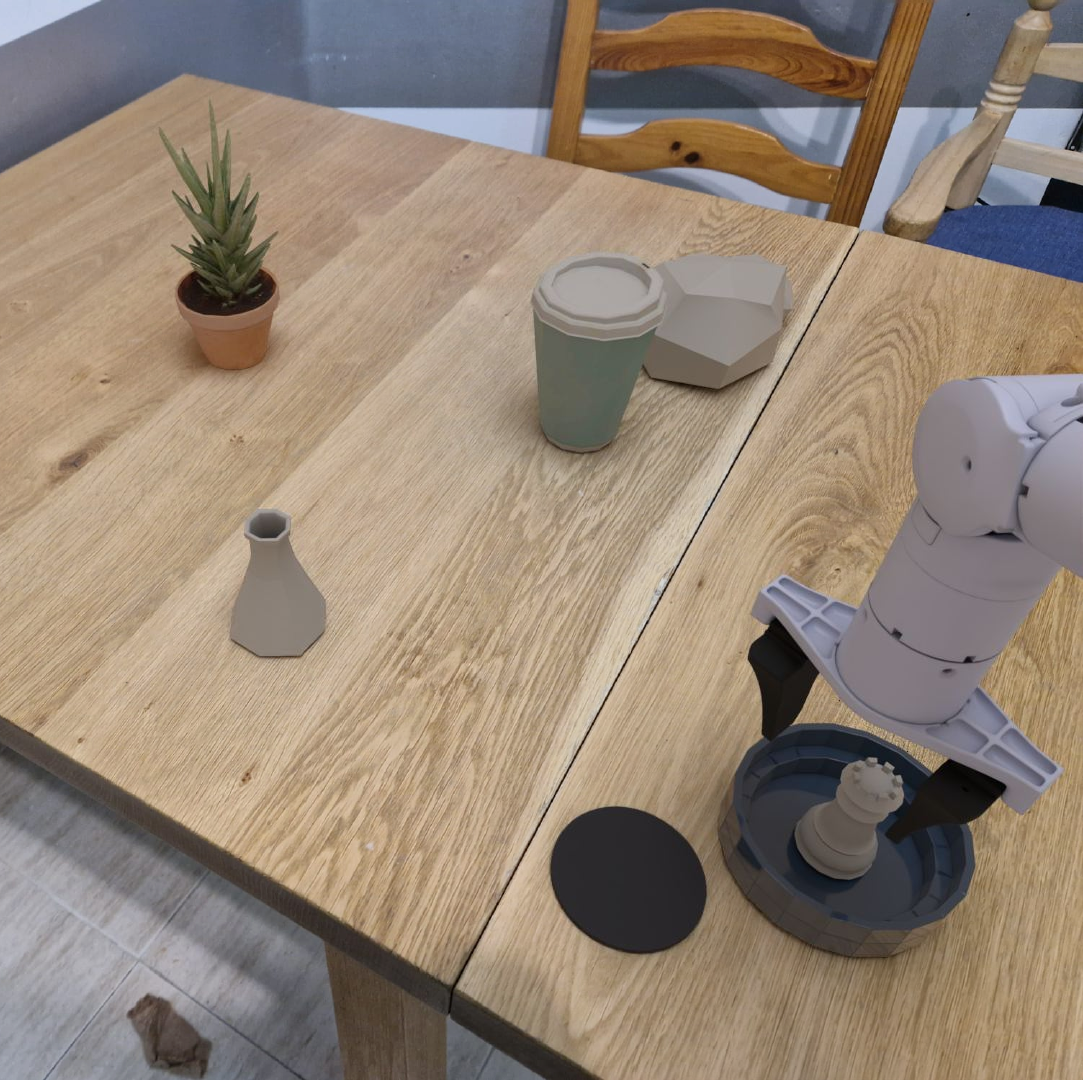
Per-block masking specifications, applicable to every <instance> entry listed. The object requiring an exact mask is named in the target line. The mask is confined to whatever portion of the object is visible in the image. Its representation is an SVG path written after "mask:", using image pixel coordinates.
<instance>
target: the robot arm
mask: <svg viewBox="0 0 1083 1080" xmlns="http://www.w3.org/2000/svg"><path fill="white" fill-rule="evenodd" d="M912 439H913V440H912V449H911V462H912V463H911V468H912V475H913V481H914V485H915V489H916V493H917V494H916V496H915V497H914V500H913V501H912V503H911V505H910V507H909V509H908V511H907V513H906V514H905V517H904V518H903V521H902V523H901V524H900V527H899V528H898V531H897V533H896V535H895V536H894V538H893V539H892V542H891V544H890V546H889V548H888V550H887V552H886V554H885V555H884V557H883V559H882V562H881V563H880V565H879V567H878V569H877V571H876V573H875V574H874V576H873V579H872V581H871V583H870V584H869V586H868V588H867V590H866V592H865V594H864V595H863V598H862V599H861V602H860V604H859V605H858V607H857V606H854V605H852V604H849V603H847V602H844V601H842V600H839V599H836V598H834V597H831V596H830V595H826V594H824V593H821V592H819V591H817V590H815V589H812V588H810V587H808V586H806V585H804V584H802V583H800V582H798V581H797V580H795V579H794V578H792V577H790V576H789V575H787V574H786V573H782V574H780V575H779V576H777V577H776V578H775V579H773V580H771V581H770V582H769V583H768V584H766V585H765V586H764V587H762V588H761V589H759V591H758V594H757V596H756V598H755V601H754V603H753V606H752V608H751V611H750V614H749V615H750V616H752V618H754V619H756V620H757V621H758V622H759V623H761V624H763V625H765V626H768V627H767V628H766V629H765V630H764V631H763V634H762V635H760V636H758V637H757V638H756V639H755V640H754V641H752V643H751V644H750V647H749V649H748V653H747V662H748V663H749V664H750V666H751V669H752V670H753V672H754V675H755V678H756V680H757V684H758V687H759V692H760V699H761V736H763V737H765V738H766V739H768V740H769V741H770V742H771V741H772V740H773V739H775V738H776V737H777V736H778V735H779V734H781V733H782V732H783V731H784V730H786V729H787V728H788V727H789V726H792V725H794V723H795V721H796V720H797V718H798V717H799V715H800V714H801V712H802V710H803V708H804V706H805V704H806V702H807V699H808V697H809V695H810V693H811V690H812V689H813V686H814V684H815V681H816V680H817V678H818V677H819V674H820V675H821V676H822V677H823V678H824V680H825V682H827V684H828V685H829V686H830V688H831V689H832V691H834V693H835V694H836V696H837V697H838V699H840V700H841V701H842V703H843V704H844V705H845V706H846V707H847V708H848V709H849V710H850V711H852V712H853V714H856V716H858V717H859V718H861V719H862V720H864V721H865V722H867V723H869V724H871V725H873V726H875V727H876V728H879V729H881V730H883V731H885V732H888V733H890V734H893V735H895V736H897V737H899V738H901V739H903V740H906V741H907V742H908V741H909V742H911V743H912V744H915V745H918V746H920V747H922V748H924V749H927V750H929V751H931V752H934V753H936V754H938V755H939V756H940V755H941V756H943V757H944V758H945V757H946V758H947V760H945V761H944V762H943V763H942V764H941V765H940V766H939V767H938V768H937V769H936V770H935V771H934V772H932V773H933V774H932V775H930V776H929V777H928V778H927V779H926V780H925V781H924V782H923V783H922V784H921V785H920V787H919V788H918V791H917V793H916V795H915V797H914V799H913V801H912V802H911V804H910V806H909V807H908V809H907V810H906V812H905V813H904V814H903V815H902V816H901V817H900V818H899V819H898V820H897V821H896V822H895V823H894V824H893V825H892V826H891V827H890V828H889V829H888V830H887V832H886V834H885V836H886V837H887V838H889V839H890V840H891V841H892V842H893V843H895V844H899V843H900V842H901V841H902V840H903V839H904V838H906V837H907V836H909V835H911V834H913V833H915V832H917V831H920V830H922V829H925V828H928V827H932V826H936V825H942V824H960V825H963V824H966V823H967V824H968V823H971V822H973V821H975V820H977V819H978V818H980V817H981V816H983V815H984V813H986V812H987V811H988V809H990V807H991V806H992V805H993V804H995V802H997V800H998V799H999V798H1000V800H1001V802H1003V803H1004V804H1005V805H1006V806H1007V807H1009V808H1010V809H1012V811H1014V812H1015V813H1017V814H1018V815H1020V816H1023V815H1025V813H1027V811H1029V810H1030V809H1031V807H1032V806H1034V804H1035V803H1036V802H1037V801H1038V800H1039V799H1040V798H1041V797H1042V796H1043V795H1044V794H1045V793H1046V792H1047V791H1048V789H1049V788H1050V787H1052V785H1053V784H1054V783H1055V782H1056V781H1057V780H1058V778H1060V776H1061V775H1062V774H1063V773H1064V772H1065V768H1064V767H1063V766H1061V765H1060V764H1058V763H1057V762H1055V761H1054V759H1052V758H1050V757H1049V756H1048V755H1047V754H1045V753H1044V752H1043V751H1042V750H1041V749H1039V747H1037V746H1036V744H1035V743H1033V741H1031V740H1030V739H1029V738H1028V736H1027V735H1026V734H1025V733H1024V732H1023V731H1022V730H1021V729H1020V728H1019V727H1018V725H1017V724H1016V723H1015V722H1014V721H1013V720H1012V719H1011V718H1010V717H1009V715H1008V714H1006V712H1005V711H1004V710H1003V709H1002V708H1001V706H1000V705H999V704H998V703H997V702H996V701H995V700H994V699H993V698H992V697H991V695H990V694H988V692H987V691H986V690H985V689H984V688H983V687H982V686H981V685H980V684H981V682H982V681H983V679H984V678H985V676H986V675H987V673H988V672H989V671H990V669H991V668H992V666H993V665H994V664H995V662H996V661H997V660H998V658H999V656H1000V655H1001V654H1002V652H1003V651H1004V650H1005V648H1006V647H1007V645H1008V644H1009V642H1010V641H1011V639H1012V638H1013V637H1014V635H1015V634H1016V632H1017V631H1018V630H1019V628H1020V627H1021V626H1022V625H1023V623H1024V621H1025V620H1026V618H1027V617H1028V616H1029V614H1030V613H1031V612H1032V610H1033V609H1034V607H1035V606H1036V604H1037V603H1038V602H1039V600H1040V599H1041V597H1042V596H1043V595H1044V593H1045V592H1046V591H1047V589H1048V588H1049V586H1050V585H1051V583H1052V582H1053V581H1054V579H1055V578H1056V577H1057V575H1058V574H1059V572H1060V571H1061V570H1062V568H1064V569H1066V570H1067V571H1069V572H1071V573H1072V574H1074V575H1075V576H1077V577H1078V578H1080V579H1082V580H1083V373H1057V374H1054V373H1053V374H1021V375H1020V374H1018V375H980V376H971V377H968V378H966V379H963V378H956V379H951V380H948V381H945V382H944V383H943V384H941V385H939V386H938V387H937V388H936V389H935V390H933V391H932V393H931V394H930V395H929V397H928V398H927V399H926V401H925V403H924V404H923V407H922V409H921V411H920V413H919V416H918V419H917V421H916V424H915V429H914V433H913V438H912Z"/></svg>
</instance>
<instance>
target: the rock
mask: <svg viewBox="0 0 1083 1080" xmlns="http://www.w3.org/2000/svg"><path fill="white" fill-rule="evenodd" d="M653 267H654V268H655V270H656V271H657V272H658V274H659V275H660V276H661V277H662V279H663V280H664V283H663V288H662V289H663V290H664V291H665V293H666V294H667V301H666V304H667V308H666V311H665V315H664V319H663V323H662V324H660V325H658V326H657V329H656V331H655V334H654V336H653V339H652V342H651V344H650V347H649V350H648V352H647V355H646V357H645V360H644V363H643V365H642V366H643V367H644V369H645V370H646V372H647V373H648V375H649V377H650V378H653V379H657V380H664V381H670V382H675V383H682V384H688V385H694V386H699V387H705V388H711V389H717V390H719V389H722V388H724V387H725V386H728V385H729V384H732V383H733V382H735V381H737V380H739V379H742V378H744V377H745V376H748V375H749V374H751V373H753V372H755V371H757V370H759V369H761V368H763V367H765V366H767V365H769V364H772V363H773V362H774V359H775V355H776V351H777V348H778V344H779V341H780V337H781V333H782V330H783V321H784V319H786V318H787V316H788V315H789V314H790V313H791V312H792V311H793V310H794V301H793V300H794V299H793V298H794V297H793V283H792V281H791V280H790V279H789V278H788V277H787V269H788V266H787V265H784V264H777V263H774V262H773V261H771V260H769V259H768V258H766V257H764V256H763V255H760V253H753V254H741V255H732V256H724V255H717V254H710V253H703V252H697V253H693V254H689V255H685V256H681V257H678V258H677V257H676V258H674V259H669V260H666V261H663V262H661V263H659V264H657V265H655V266H653Z"/></svg>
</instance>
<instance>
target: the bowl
mask: <svg viewBox="0 0 1083 1080" xmlns="http://www.w3.org/2000/svg"><path fill="white" fill-rule="evenodd" d="M868 757H870V758H877V764H879V765H882V766H884V765H885V763H886V762H888V763H889V764H890V765H892V766H893V767H895V768H894V770H893V771H892V773H893V774H894V776H898V775H901V778H902V781H903V784H902V789H903V793H904V797H903V803H902V805H901V806H900V807H899V808H898V809H897V810H896V811H893V812H889V813H888V816H887V817H886V818H885V819H884V820H883V821H881V822H878V823H877V826H876V829H875V832H876V838H877V841H878V847H877V852H876V858H875V860H874V861H873V862H872V865H871V867H870V868H869V869H868V871H867V872H866V873H865V874H864V875H863V876H860V877H857V878H854V879H851V880H848V879H837V878H833V877H830V876H828V875H826V874H823V873H821V872H819V871H818V870H816V869H815V868H814V867H813V866H811V865H810V864H809V863H808V862H807V861H806V860H805V859H804V857H803V856H802V854H801V853H800V851H799V850H798V848H797V844H796V839H795V835H794V834H795V830H796V826H797V823H798V822H799V821H800V820H801V819H802V818H803V815H804V814H805V813H806V812H807V811H808V810H809V809H810V808H812V807H814V806H816V805H819V804H823V803H828V802H831V801H833V800H834V799H835V798H836V792H837V787H838V786H839V785H840V784H841V780H840V779H841V774H842V770H843V769H844V768H845V767H846V766H847V765H848V764H850V763H853V762H857V761H859V760H861V761H866V759H867V758H868ZM933 773H934V772H933V771H932V770H930V769H929V768H928V766H926V765H924V764H923V763H922V762H920V761H919V760H918V759H916V757H914V756H913V755H912V754H910V753H909V752H908V751H906V750H905V749H904V748H902V747H901V746H899V745H896V744H895V743H892V742H890V741H888V740H886V739H884V738H882V737H881V736H878V735H875V734H874V733H872V732H869V731H867V730H862V729H858V728H854V727H850V726H847V725H843V724H838V723H833V722H799V723H795V724H792V725H790V726H789V727H788V728H787V729H786V730H784V731H783V732H782V733H781V734H779V735H778V736H777V737H776V738H775V739H773V740H772V741H771V742H770V741H769V740H768V739H766V738H765V737H764V736H763V737H762V738H761V739H759V740H758V741H756V742H755V743H754V744H752V745H751V746H750V747H749V748H748V749H747V750H746V752H745V754H744V756H743V758H742V759H741V761H740V763H739V765H738V767H737V768H736V770H735V772H734V774H733V776H732V778H731V781H730V783H729V785H728V787H727V790H726V791H725V794H724V795H723V798H722V800H721V802H720V809H719V820H718V836H719V840H720V843H721V848H722V851H723V855H724V858H725V863H726V864H727V865H726V866H727V867H728V869H729V871H730V872H731V874H732V875H733V877H734V878H735V880H736V882H737V884H738V885H739V887H740V889H741V890H742V891H743V894H744V895H745V896H746V897H747V898H748V900H750V901H751V902H752V903H753V904H754V906H756V907H757V908H758V909H759V910H760V911H761V912H762V913H763V914H764V915H765V916H766V917H767V918H769V920H770V921H771V922H773V924H776V926H777V927H779V928H781V929H782V930H785V931H787V932H788V933H790V934H792V935H793V936H794V937H796V938H798V939H800V940H802V941H803V942H804V943H806V944H809V945H811V946H813V947H816V948H819V949H823V950H826V951H828V952H829V951H830V952H833V953H836V954H840V955H843V956H847V957H851V958H860V957H861V958H871V957H872V958H879V957H880V958H881V957H882V958H885V957H886V958H887V957H891V956H894V955H896V954H899V953H901V952H904V951H908V950H910V949H913V948H915V947H918V946H920V945H921V944H923V942H925V940H926V939H927V938H928V937H929V936H930V935H931V934H932V933H933V932H934V931H935V930H936V929H937V928H938V927H939V926H940V925H941V924H942V923H943V922H944V921H945V920H946V918H948V917H949V916H950V914H951V913H952V912H954V910H956V908H957V907H958V906H959V905H960V904H961V902H963V901H964V899H966V897H967V895H968V892H969V889H970V886H971V884H972V879H973V877H974V873H975V871H976V865H977V864H976V856H975V846H974V838H973V836H974V835H973V833H972V831H971V829H970V826H969V824H968V823H966V824H963V825H960V824H942V825H936V826H932V827H928V828H925V829H922V830H920V831H917V832H915V833H913V834H911V835H909V836H907V837H906V838H904V839H903V840H902V841H901V842H900V843H899V844H895V843H893V842H892V841H891V840H890V839H889V838H887V837H886V836H885V834H886V832H887V830H888V829H889V828H890V827H891V826H892V825H893V824H894V823H895V822H896V821H897V820H898V819H899V818H900V817H901V816H902V815H903V814H904V813H905V812H906V810H907V809H908V807H909V806H910V804H911V802H912V801H913V799H914V797H915V795H916V793H917V791H918V788H919V787H920V785H921V784H922V783H923V782H924V781H925V780H926V779H927V778H928V777H929V776H930V775H932V774H933Z"/></svg>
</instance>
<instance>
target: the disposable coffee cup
mask: <svg viewBox="0 0 1083 1080" xmlns="http://www.w3.org/2000/svg"><path fill="white" fill-rule="evenodd" d="M654 267H655V266H653V265H651V264H650V263H648V262H647V261H645V260H643V259H640V258H638V257H637V256H634V255H631V254H630V253H627V252H613V251H599V250H596V251H591V252H586V253H581V254H576V255H571V256H566V258H564V259H562V260H561V261H558V262H557V263H556V264H554V265H552V266H551V267H549V268H547V269H546V270H545V271H544V273H542V274H541V275H540V276H539V277H538V279H537V282H536V284H535V286H534V289H533V291H532V292H531V293H532V294H531V298H530V301H529V304H530V305H531V307H532V313H533V315H532V316H533V331H534V332H533V333H534V348H535V349H534V350H535V367H536V379H537V380H536V382H537V383H536V384H537V399H538V417H539V424H540V426H541V427H542V431H543V433H544V435H545V437H546V439H547V441H548V442H550V443H551V444H553V445H555V446H556V447H558V448H560V449H561V450H565V451H570V452H576V453H581V454H582V453H589V452H594V451H600V450H602V449H603V448H605V446H607V445H609V444H610V443H612V441H613V439H615V437H616V436H617V434H618V431H619V429H620V426H621V423H622V420H623V418H624V415H625V412H626V410H627V407H628V404H629V402H630V399H631V396H632V394H633V391H634V388H635V387H636V383H637V382H638V378H639V376H640V373H641V371H642V368H643V366H644V365H643V363H644V360H645V357H646V355H647V352H648V350H649V347H650V344H651V342H652V339H653V336H654V334H655V331H656V329H657V326H658V325H660V324H662V323H663V319H664V315H665V311H666V308H667V304H666V301H667V294H666V293H665V291H664V290H663V289H662V288H663V283H664V280H663V279H662V277H661V276H660V275H659V274H658V272H657V271H656V270H655V268H654Z"/></svg>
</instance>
